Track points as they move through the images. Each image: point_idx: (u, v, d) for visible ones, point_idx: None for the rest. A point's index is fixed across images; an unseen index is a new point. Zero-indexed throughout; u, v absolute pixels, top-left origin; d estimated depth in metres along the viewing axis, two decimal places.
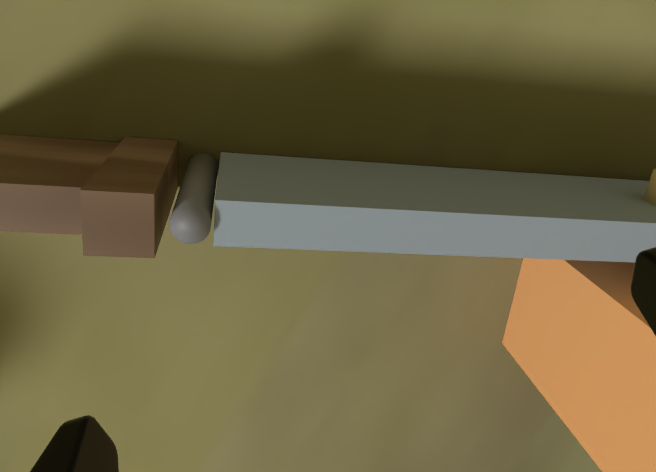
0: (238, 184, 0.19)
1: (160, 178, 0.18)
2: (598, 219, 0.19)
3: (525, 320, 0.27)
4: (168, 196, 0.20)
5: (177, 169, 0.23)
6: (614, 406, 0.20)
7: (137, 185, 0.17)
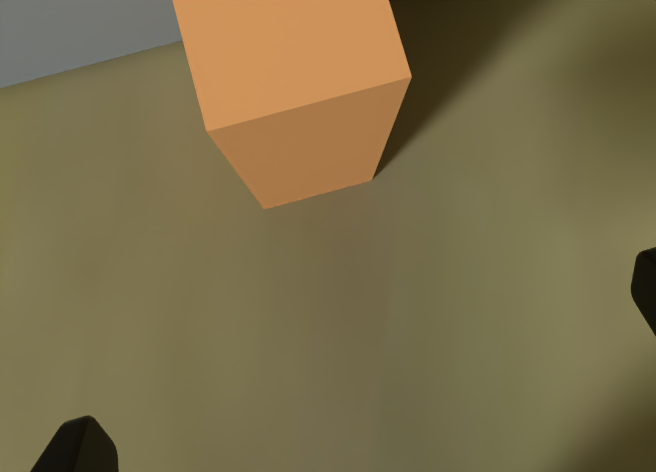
0: None
1: None
2: None
3: None
4: None
5: None
6: None
7: None
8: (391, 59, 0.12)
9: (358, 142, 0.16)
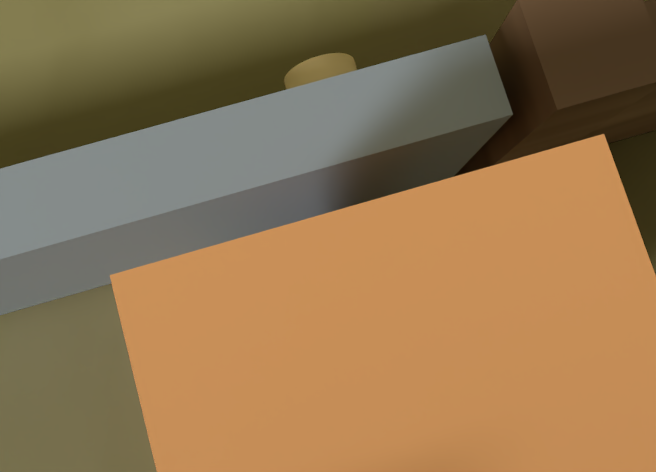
0: None
1: None
2: (86, 147, 0.10)
3: None
4: None
5: None
6: None
7: None
8: None
9: None
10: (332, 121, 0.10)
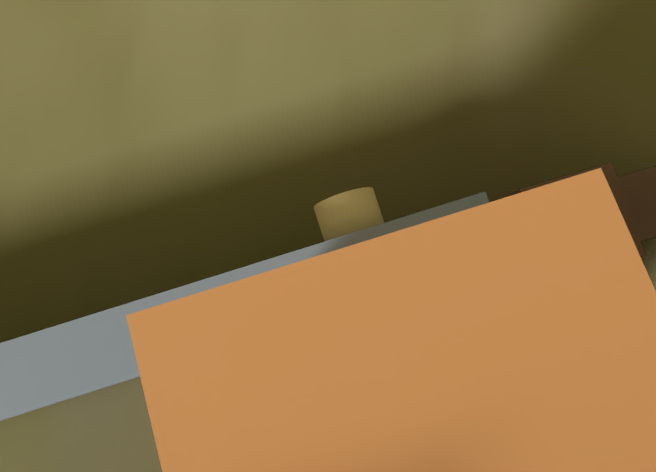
0: None
1: None
2: (160, 293, 0.12)
3: None
4: None
5: None
6: None
7: None
8: None
9: None
10: None
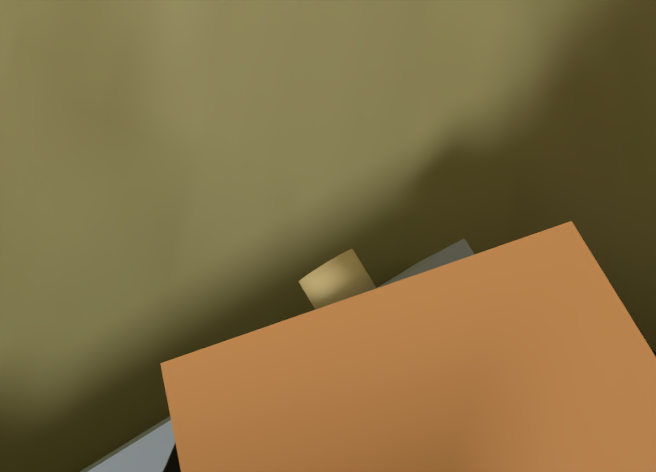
0: None
1: None
2: (168, 420, 0.12)
3: None
4: None
5: None
6: None
7: None
8: None
9: None
10: None
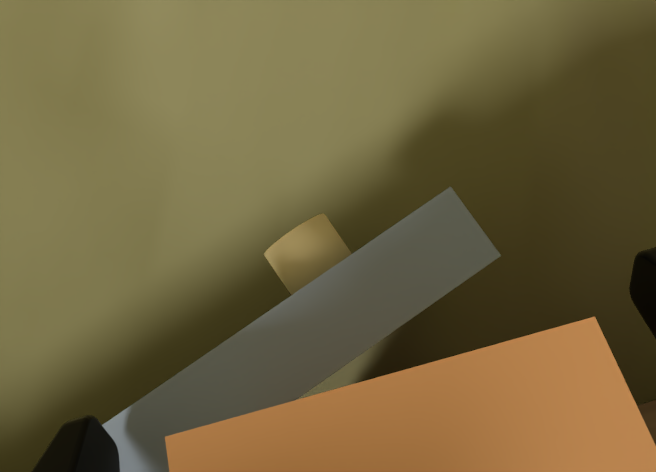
0: None
1: None
2: (108, 421, 0.10)
3: None
4: None
5: None
6: None
7: None
8: None
9: None
10: (334, 318, 0.10)
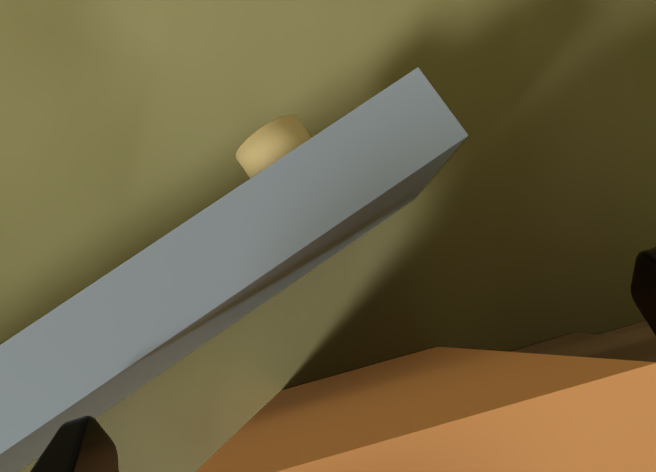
0: None
1: None
2: (72, 299, 0.10)
3: None
4: None
5: None
6: None
7: None
8: None
9: None
10: (300, 196, 0.10)
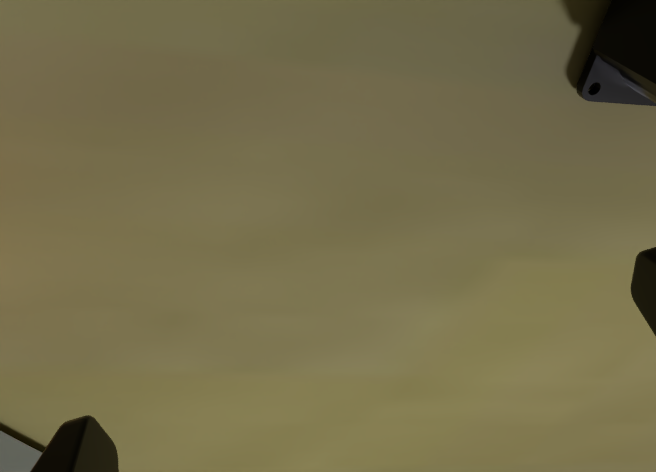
0: None
1: None
2: None
3: None
4: None
5: None
6: None
7: None
8: None
9: None
10: None
